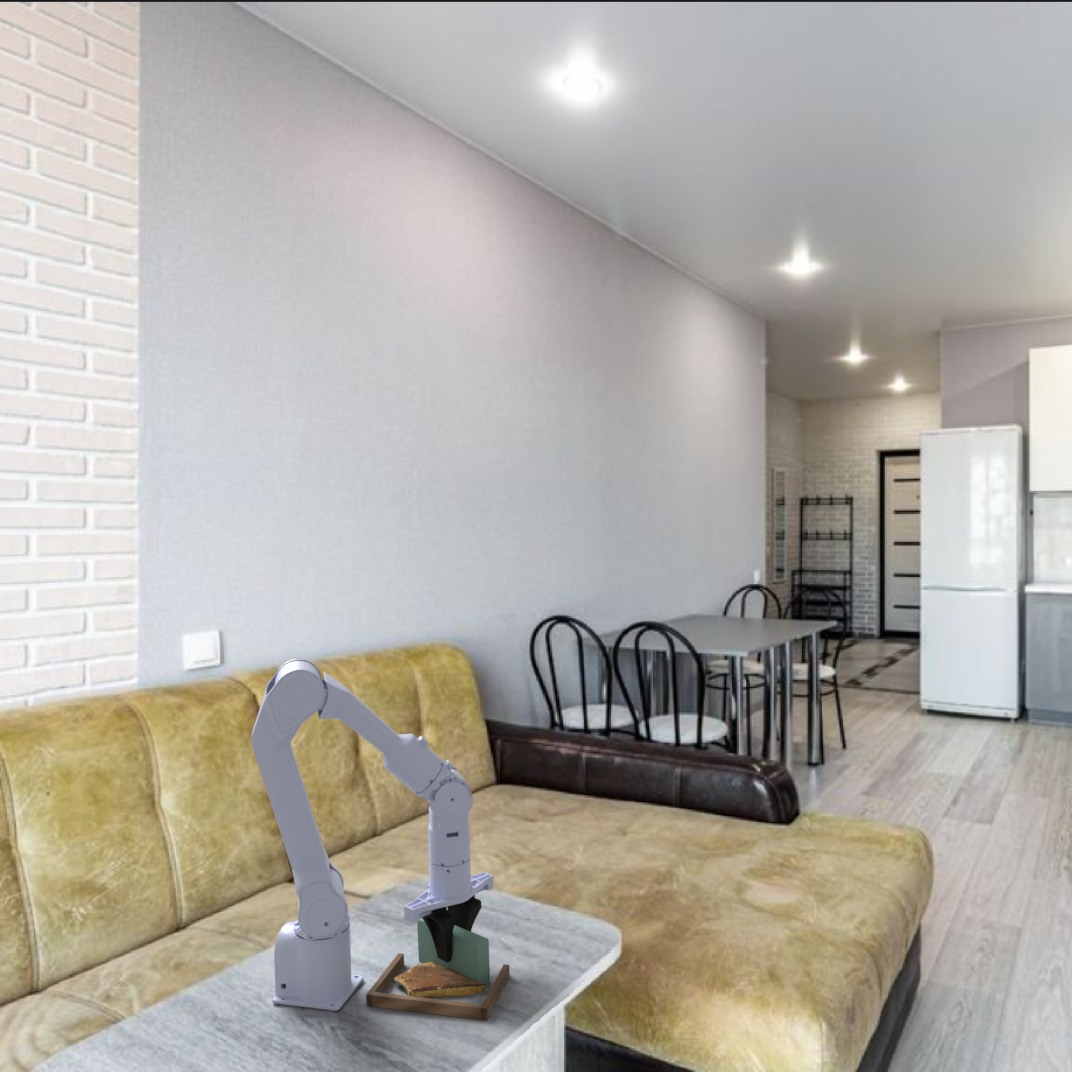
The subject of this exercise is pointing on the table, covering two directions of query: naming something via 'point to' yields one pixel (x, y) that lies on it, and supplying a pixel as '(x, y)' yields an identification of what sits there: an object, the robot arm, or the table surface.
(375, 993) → the walnut frame
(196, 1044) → the table surface
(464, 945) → the bar
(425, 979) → the shard
